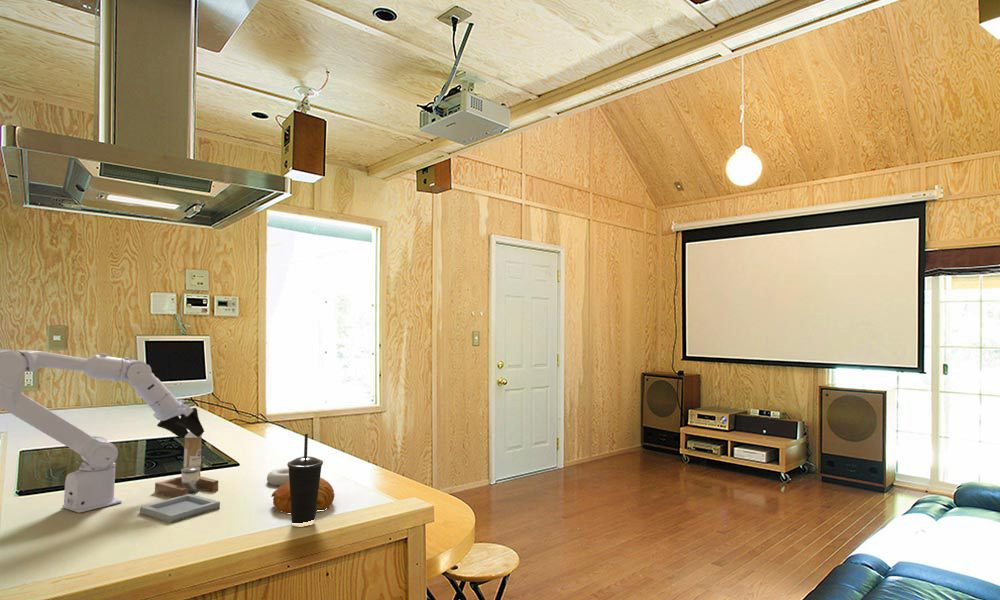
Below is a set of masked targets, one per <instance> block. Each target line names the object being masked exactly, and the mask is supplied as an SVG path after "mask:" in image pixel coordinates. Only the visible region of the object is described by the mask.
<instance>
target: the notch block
mask: <svg viewBox="0 0 1000 600" xmlns="http://www.w3.org/2000/svg"><path fill="white" fill-rule="evenodd" d="M181 480H182V476H180V477H173V478H171V479H166V480H162V481H158V482H154V493H155V494H159V495H162V496H166V497H170V498H175V497H179V496H183V495H187V494H188V488H185V487H181ZM198 489H202V490H205V491H209V492H216V491H219V480H217V479H213V478H209V477H205V476H201V475H200V476H199V485H198Z"/></svg>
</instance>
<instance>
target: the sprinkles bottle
mask: <svg viewBox="0 0 1000 600" xmlns="http://www.w3.org/2000/svg"><path fill="white" fill-rule="evenodd" d="M187 431H188V434H187V435H186V436H185V437H184V448H183V451H184V452H183V468H188V467H199V468H200V470H199V476H201V475H202V474H201V464H202V438H203V433H202V434H201V435H200V436H199V437H197V436H195V435H194V434H193V433H191V432H190V431H189V430H188V429H187Z"/></svg>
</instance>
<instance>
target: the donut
mask: <svg viewBox="0 0 1000 600" xmlns="http://www.w3.org/2000/svg"><path fill="white" fill-rule="evenodd" d="M266 481H267V482H268V484H270V485H271V486H275V487H280V486H281V485H282V484H284V483H286V482H288V481H289V467H280V468H276V469H273V470H271V471H269V472H268V474H267V477H266Z"/></svg>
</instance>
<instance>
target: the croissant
mask: <svg viewBox="0 0 1000 600" xmlns="http://www.w3.org/2000/svg"><path fill="white" fill-rule="evenodd" d="M277 487H278V488H276V489H275V490H274V491H273V492H272V494H271V498H272V503H273V506H274V508H275V509H276V510H277V511H278V510H279V511H278V512H280V511H282V512H281V513H284V512H285V513H284V514H287V513H291V501H290V483H289V481H288V482H286V483H284V484H282V485H281V486H277ZM334 499H335V490H334V488H333V486H332V484H330V482H329V481H327V480H326V479H324V478H322V477H320V482H319V490H318V498H317V506H316V511H317V510H325V509H326V508H328V507H329V508H330V506H331V505H332V504H333V502H334ZM329 508H328V509H329ZM325 511H326V510H325Z"/></svg>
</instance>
